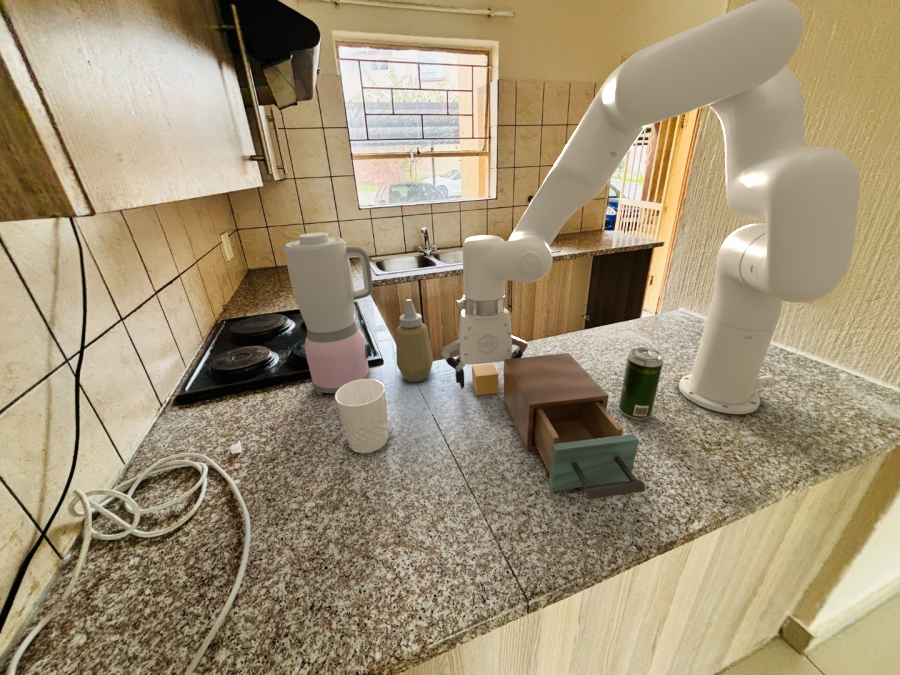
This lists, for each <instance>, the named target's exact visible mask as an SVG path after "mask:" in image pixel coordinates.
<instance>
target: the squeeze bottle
mask: <svg viewBox="0 0 900 675" xmlns="http://www.w3.org/2000/svg"><path fill="white" fill-rule="evenodd" d="M404 305H405V306H404V314H401V315H400V316H399V325H398V326H397V327H396V329H395V334H396V336H395V338H396V339H395V340H396V343H395V344H396V366H397V367H398V370H399V371H400V373H401V376H402V378H403V380H405V381H407V382H409V383H419V382H423V381H425V380H427V379H428V378H429V376H430V374H431V370H432V367H433V363H434V358H433V357H434V356H433V352H432V347H431V341H430V336H429V331H428V326H427V325H426V323H423V317H422V314H420V313H417V312H416V308H415V305H414V302H413V300H412V299H411V298H407V299H405V304H404Z"/></svg>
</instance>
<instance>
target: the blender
mask: <svg viewBox="0 0 900 675" xmlns="http://www.w3.org/2000/svg"><path fill="white" fill-rule="evenodd" d="M279 248H280V249H281V250H282V251H283V253H284V254H285V255H284V256H285V260H286V266H287V271H288V276H289V281H290V284H291V288H292V293H293V296H294V300H295V302H296V305H297V307H298V310H299V312H300V315H301V317H302V319H303V321H304V324H305V327H306V337H305V340H304V352H305V356H306V361H307V364H308V365H307V366H308V369H309V374H310V376H311V383H312V384H311V385H312V386H313V388H314V391H315V393H316V394H317V395H319V396H323V395H324V393H325V394H335V393H336V392H337V390H338V389H339V388H340V387H342V386H343V385H345V384H347V383H349V382H351V381H355V380H359V379H370V378H369V377H370V374H371V373H370V367H369V360H368V359H369V357H372V356H373V354H372V346H371V344H370V343H367V342H365V341H366V338H365V335H364V334H363V333H362V331H361V329H360V328H359V327H358V325H357V324H356V320H355V300H360V299H363V298H366V297H369V296H370V295H372V293H373V289H374V288H373V286H374V285H373V275H372V269H371V261H370V257H369V254H368V252H366V250H365V249H363V248H361V247H358V246H357V247H356V246H347V244H346V241H345V239H343V238H342V237H334V236H330V237H329V233H328V232H322V231H321V232H308V233H303V234H300V235H299V236H298V240H294V241H290V242H288V243H286V244H283V245H280V246H279ZM349 257H358V258H359V260H360V266H361V273H362V279H363V288H362V289H358V290H355V286H354V279H353V274H352V267H351V261H350V258H349Z"/></svg>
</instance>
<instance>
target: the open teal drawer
mask: <svg viewBox="0 0 900 675" xmlns="http://www.w3.org/2000/svg"><path fill="white" fill-rule="evenodd" d="M623 432H624V428H623V427H622V426H621V425H620V424H619V422H617V420H616V419H615V418H614V417H613V416H612V415H611V414H610V412H609V411H608V410H607V409H605V408H604V407H603V406H602V404H601V403H600V402H599V401H592V402H583V403H574V404H566V405H557V406H549V407H540V408H534V416H533V432H532V439H533V441H534V443H535V445H536V447H537V449H538V450H537V452H538V453H539V456H540V457H541V460H542V461H543V464H544V465H545V467H546V469H547V471H548V473H549V478H548V479H549V480H548V481H549V482H548V486H549V488H550V490H551V492H555V491H564V490H570V489H576V488H584V493H585V497H586V498H587V499H588V500H596V499H603V498H604V499H605V498H610V497H617V496H624V495H625V496H626V495H631V494H638V493H644V492H645V491H646V486H645V485H646V484H645V483H644V481H643V480H641V479H637V478H636V476H635V474H634V473H633V468H634V464H635V459H636V455H637V450H638V446H639V443H640V442H639V441H640V440H639V438H638V437H637V435H635V433H631V434H623Z"/></svg>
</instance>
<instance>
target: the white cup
mask: <svg viewBox="0 0 900 675" xmlns="http://www.w3.org/2000/svg"><path fill="white" fill-rule="evenodd" d="M386 396H387V395H386V387H385V384H384V383H383V382H381V381H380V380H377V379H375V378H368V379H359V380H355V381H351V382H349V383H347V384H345V385H343V386H342V387H340V388H339V389H338V390H337V392H336V393H334V400H335V404H336V408H337V411H338V414H339V418H340V422H341V425H342V428H343V431H344V434H345V436H346V439H347V443H348V447H349V449H351V450H352V451H353V452H355V453H358V454H363V455H364V454H370V453H371V454H372V453H374V452H376V451H379V450H381V449H382V448H383V447H384V446H385V445H386V444H387V442H388V439H389V427H388V407H387V399H386V398H387V397H386Z"/></svg>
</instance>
